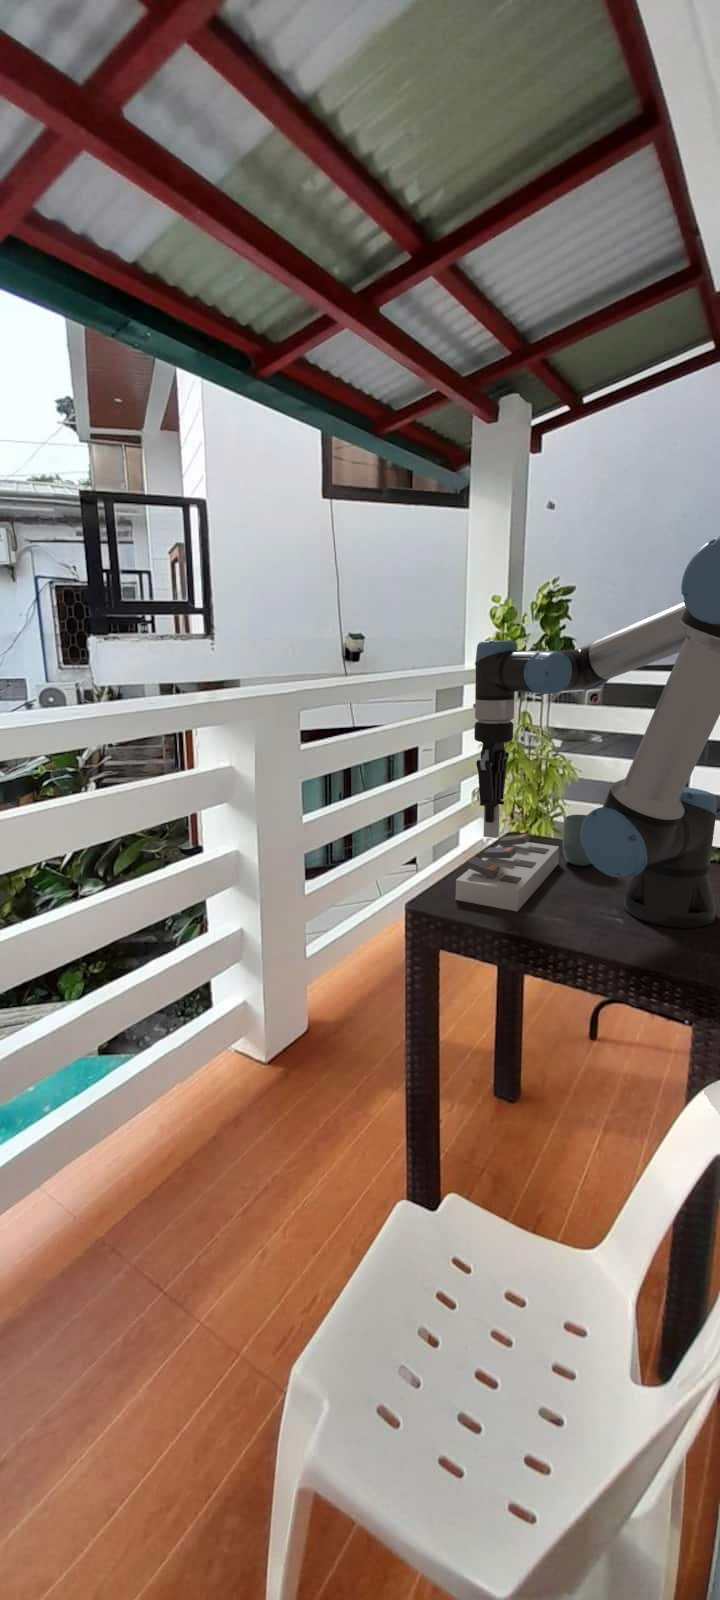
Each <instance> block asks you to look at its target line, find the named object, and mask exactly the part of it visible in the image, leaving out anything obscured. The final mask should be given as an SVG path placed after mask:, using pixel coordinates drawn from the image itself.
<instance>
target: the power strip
mask: <svg viewBox="0 0 720 1600" xmlns="http://www.w3.org/2000/svg"><path fill="white" fill-rule="evenodd" d="M508 847H513V848H516V854H515V855H514V856H512V857H511V858H484V856H483V857H482V858H481V859H482V860H484V861H487V862H489V863H492V864H494V865H497V866H499V867H500V870H499V873H498V874H497V875H496V876H495V877H494V878H491V877H488V876H486V875H483V874H481V873H479V872H476V871H474V870H472V869H469V868H468V870H466V871H465V872H463V873H462V875H460V876H459V877H458V878H456V879H455V901H460V902H465V903H469V904H470V903H471V904H476V905H481V906H487V907H490V908H491V907H493V908H497V909H501V910H507V911H513V912H518V911H519V910H520V909H521V908H522V907H523V906H524V904H525V903H526V902H527V901H528V900H529V899H530V898H531V896H532V895H533V894H534V892H535V893H536V890H538V888H539V887H540V886H541V885H542V883H543V882H544V881H545V880H546V879H547V878H548V876H549V875H551V873H552V872H553V871H554V870H555V868H556V867H558V866H559V857H560V856H559V855H560V846H557V845H551V844H543V843H537V842H529V841H528V842H526V843H525V844H517V845H507V846H500V843H499V844H498V845H497V846H495V847H494V848H508Z"/></svg>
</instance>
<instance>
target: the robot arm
mask: <svg viewBox="0 0 720 1600" xmlns="http://www.w3.org/2000/svg"><path fill="white" fill-rule="evenodd" d="M680 591H681V596H682V595H683V601H682V602H681V603H678V604H675V605H673V606H671V607H668V608H666V609H664V610H663V611H660V612H657V613H656V614H654V615H652V616H649V617H647V618H646V617H645V618H644V619H642V620H640V621H638V622H635V623H633V624H631V625H628V626H627V627H624V628H622V629H620V630H619V629H618V631H615V632H613V633H610V634H608V635H607V636H604V637H601V638H599V639H597V640H595V641H593V642H591V643H589V644H585V645H584V646H582V647H580V648H577V649H562V650H530V651H529V650H527V651H524V650H523V651H520V650H519V651H517V648H516V647H517V646H516V642H515V641H514V640H483V641H480V642H478V644H477V646H476V653H475V662H474V665H475V694H474V695H475V696H474V697H475V699H474V700H475V701H474V703H473V704H472V707H473V709H474V719H476V720H477V721H475V723H474V740H475V741H476V742H481V743H482V748H481V751H480V759H477V760H476V768H477V769H476V770H477V773H478V774H477V775H478V791H479V806H480V807H483V837H484V838H492V839H497V838H499V837H500V836H499V835H500V833H499V832H500V805H502V806H503V805H504V804H505V801H504V800H503V799H504V797H505V796H504V795H505V794H504V793H505V787H506V786H505V785H506V775H507V764H508V760H509V755H510V754H509V751H506V749H505V743H509V742H511V741H513V740H514V723H513V722H512V721H511V720H514V719H515V693H516V692H517V693H518V692H520V693H527V694H530V693H531V694H532V693H533V694H538V695H541V696H542V695H551V694H552V695H556V694H560V693H562V692H565V691H575V690H576V691H577V690H591V689H596V688H599V687H602V686H604V685H605V684H606V683H607V682H609V680H611V679H612V678H615V677H618V676H620V675H623V674H626V673H629V672H631V671H634V670H636V669H639V668H642V667H644V666H647V665H649V664H653V663H655V662H658V661H661V660H664V659H666V658H668V657H671V656H674V655H677V654H678V655H677V658H676V660H675V662H674V664H673V667H672V669H671V672H670V674H669V676H668V679H667V681H666V683H665V684H664V688H663V691H662V693H661V695H660V697H659V700H658V702H657V704H656V707H655V709H654V712H653V714H652V716H651V718H650V720H649V723H648V724H647V727H646V730H645V731H644V734H643V737H642V739H641V742H640V744H639V746H638V748H637V751H636V753H635V755H634V758H633V760H632V762H631V765H630V767H629V770H628V771H627V774H626V777H625V778H623V779H620V780H618V781H617V780H616V781H615V782H613V783H612V785H611V787H610V789H609V791H608V794H607V796H606V799H605V801H604V803H603V806H602V807H597V808H594V809H593V810H592V811H591V812H589V813H588V814H586V815H587V816H586V817H585V819H584V821H583V823H582V826H581V832H580V837H581V843H582V847H583V848H584V849H585V854H586V856H587V858H588V859H589V860H590V862H591V863H592V864H591V865H593V867H594V868H595V869H597V870H598V871H600V872H602V873H603V874H605V875H606V876H609V877H612V878H625V877H632V879H630V882H629V884H628V887H627V888H626V891H625V893H624V900H623V907H624V909H625V911H626V912H627V913H629V914H630V915H631V916H632V917H635V918H637V919H639V920H642V921H644V922H647V923H650V924H654V925H658V926H663V927H671V928H685V929H688V928H692V929H693V928H701V927H704V926H708V925H711V924H713V922H714V921H715V917H716V916H715V915H716V911H717V906H716V901H715V897H714V894H713V889H712V885H711V881H710V877H709V875H710V874H709V873H710V864H711V858H712V851H713V843H714V842H713V841H714V834H715V825H716V817H717V815H718V812H717V803H718V801H717V797H716V796H715V795H714V793H712V792H710V791H706V790H705V789H704V790H703V789H698V788H693V787H689V786H688V787H687V784H688V782H689V780H690V778H691V775H692V773H693V772H694V769H695V767H696V765H697V763H698V762H699V759H700V757H701V755H702V753H703V751H704V749H705V746H706V744H707V742H708V740H709V739H710V736H711V735H712V732H713V730H714V728H715V727H716V724H717V722H718V720H719V717H720V535H719V536H716V537H715V538H713V539H710V540H709V541H708V542H707V543H705V544H704V545H703V546H701V547H700V548H699V549H698V550H697V551H696V552H695V553H694V555H693V556H692V557H691V559H690V561H689V562H688V563H687V566H686V568H685V570H684V572H683V575H682V579H681V587H680Z"/></svg>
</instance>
